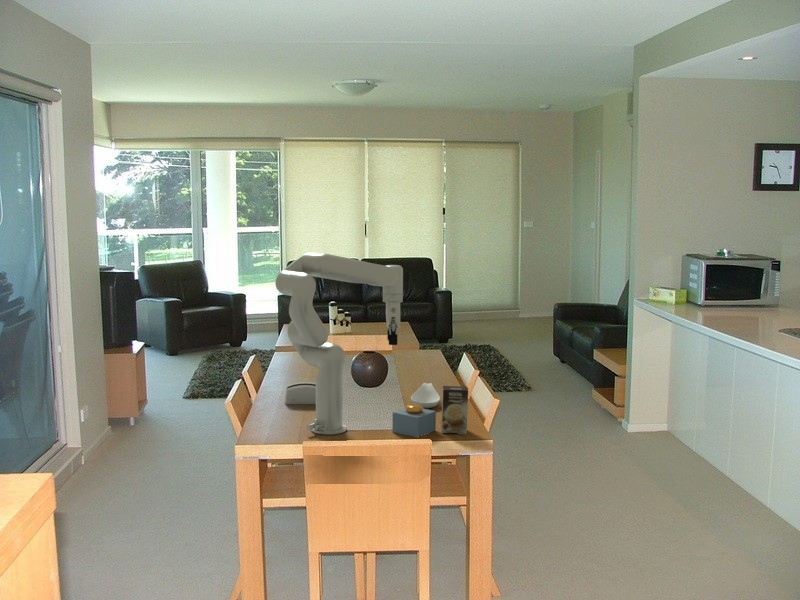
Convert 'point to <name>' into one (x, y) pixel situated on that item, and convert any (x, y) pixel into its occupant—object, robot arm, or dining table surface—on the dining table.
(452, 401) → the coffee box
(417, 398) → the spoon rest
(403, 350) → the dining table surface
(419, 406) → the pin
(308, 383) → the grey slotted block
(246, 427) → the dining table surface
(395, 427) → the hitch block
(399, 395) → the dining table surface
